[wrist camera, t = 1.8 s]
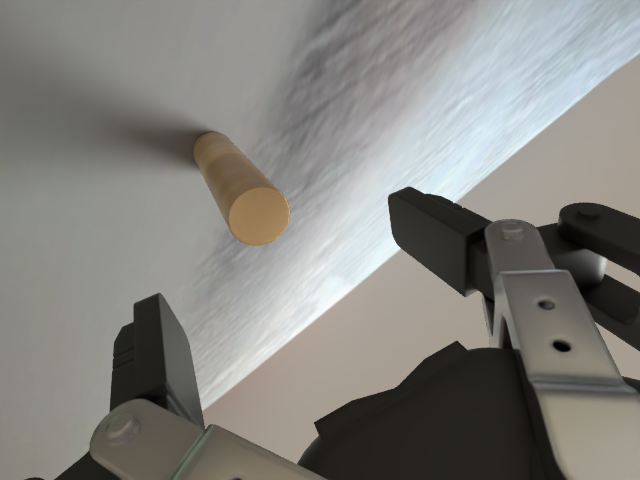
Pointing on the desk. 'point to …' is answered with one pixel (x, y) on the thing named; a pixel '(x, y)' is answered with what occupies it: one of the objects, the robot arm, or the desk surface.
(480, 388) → the robot arm
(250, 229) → the stick
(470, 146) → the desk surface
